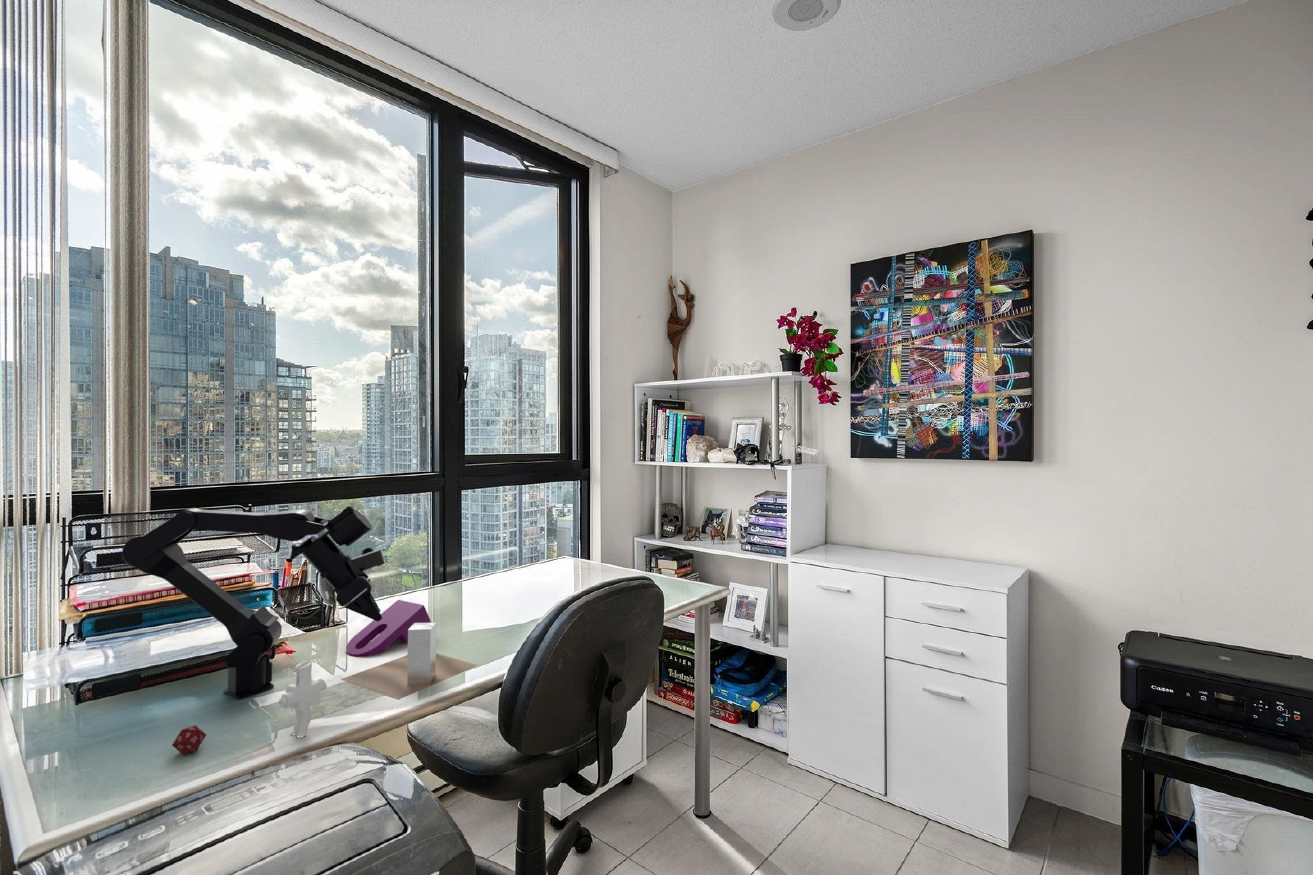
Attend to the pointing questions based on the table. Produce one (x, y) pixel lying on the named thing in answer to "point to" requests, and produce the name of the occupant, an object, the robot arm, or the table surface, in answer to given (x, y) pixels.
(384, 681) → the stub board
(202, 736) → the dice
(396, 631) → the mounting bracket
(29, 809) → the table surface
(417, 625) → the block
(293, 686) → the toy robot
